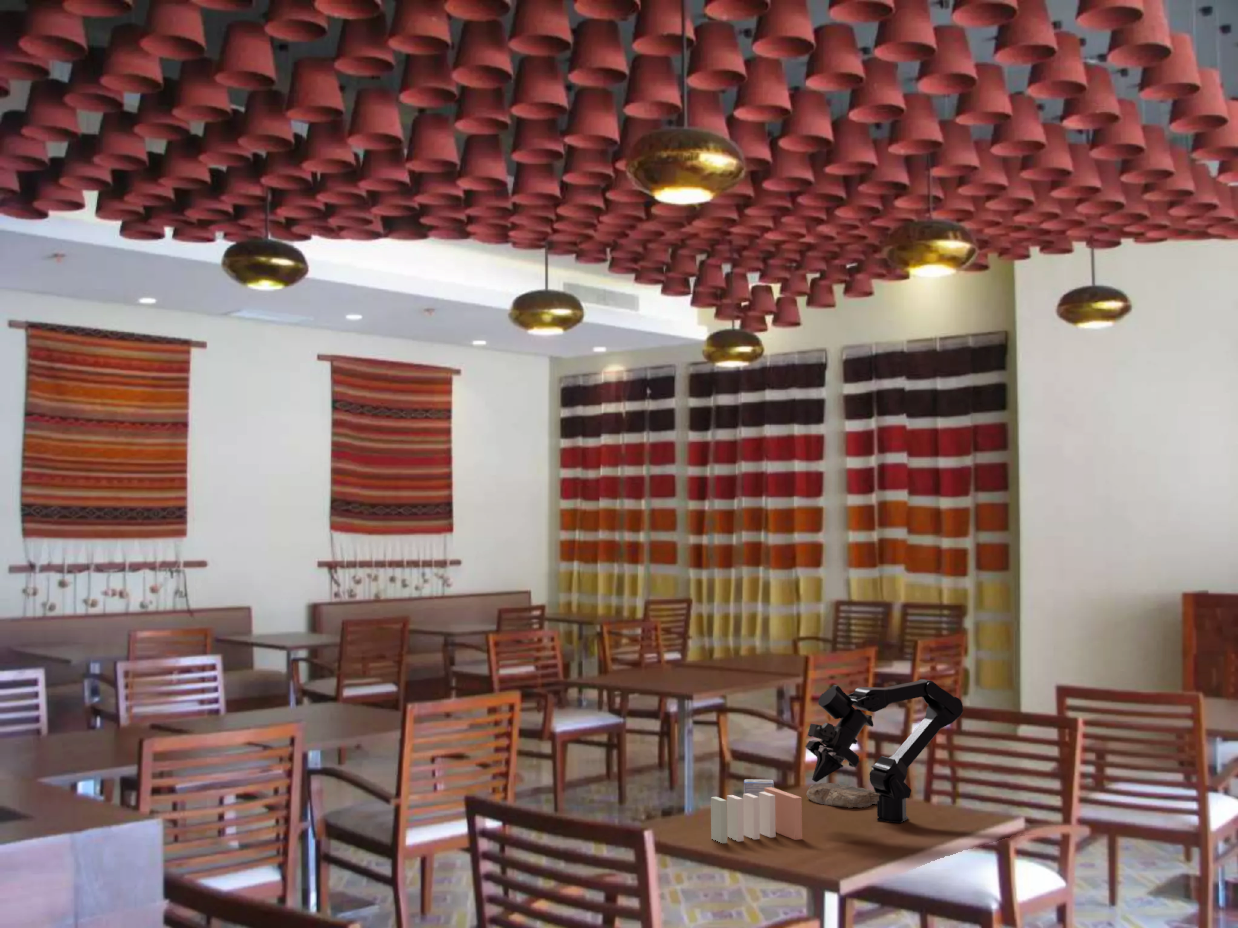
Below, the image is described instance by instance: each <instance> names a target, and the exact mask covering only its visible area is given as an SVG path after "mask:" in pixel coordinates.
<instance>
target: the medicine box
mask: <svg viewBox="0 0 1238 928" xmlns="http://www.w3.org/2000/svg"><path fill="white" fill-rule="evenodd" d="M774 783H775V782H774V780H773V779H755V778H754V779H748V778H747V779H744V780H743V794H747V793H749V794H752V795H755V796H758V797H759V792H764V788H767V787H772V788H775V784H774Z"/></svg>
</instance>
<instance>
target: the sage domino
mask: <svg viewBox="0 0 1238 928" xmlns="http://www.w3.org/2000/svg"><path fill="white" fill-rule="evenodd" d="M710 829H711V830H710V833H711V834H710V835H711V837H710V839H711V840H712V839H713V840H712V841H715V840H716V841H715V842H717V841H718V842H717V843H719V842H720V843H719V844H721V843H722V844H728V837H727V799H724V798H721V797H719V796H711V797H710Z"/></svg>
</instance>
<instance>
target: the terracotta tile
mask: <svg viewBox="0 0 1238 928" xmlns="http://www.w3.org/2000/svg"><path fill="white" fill-rule="evenodd" d="M764 792H767V793H770V794H773V795H775V827H776V833H777V834H779V835H782V836H785V837H787V838H789V839H792V840H794V841H797V840H802V839H803V817H802V816H803V811H802V810H803V809H802V808H803V807H802V805H803V804H802V803H803V802H802V801H803V800H802V798H803V797H801V796H799V795H795V794H793V793H791V792H786V791H783V790H781V789H779V788H776V787H774V788H772V787H767V788H764Z"/></svg>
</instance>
